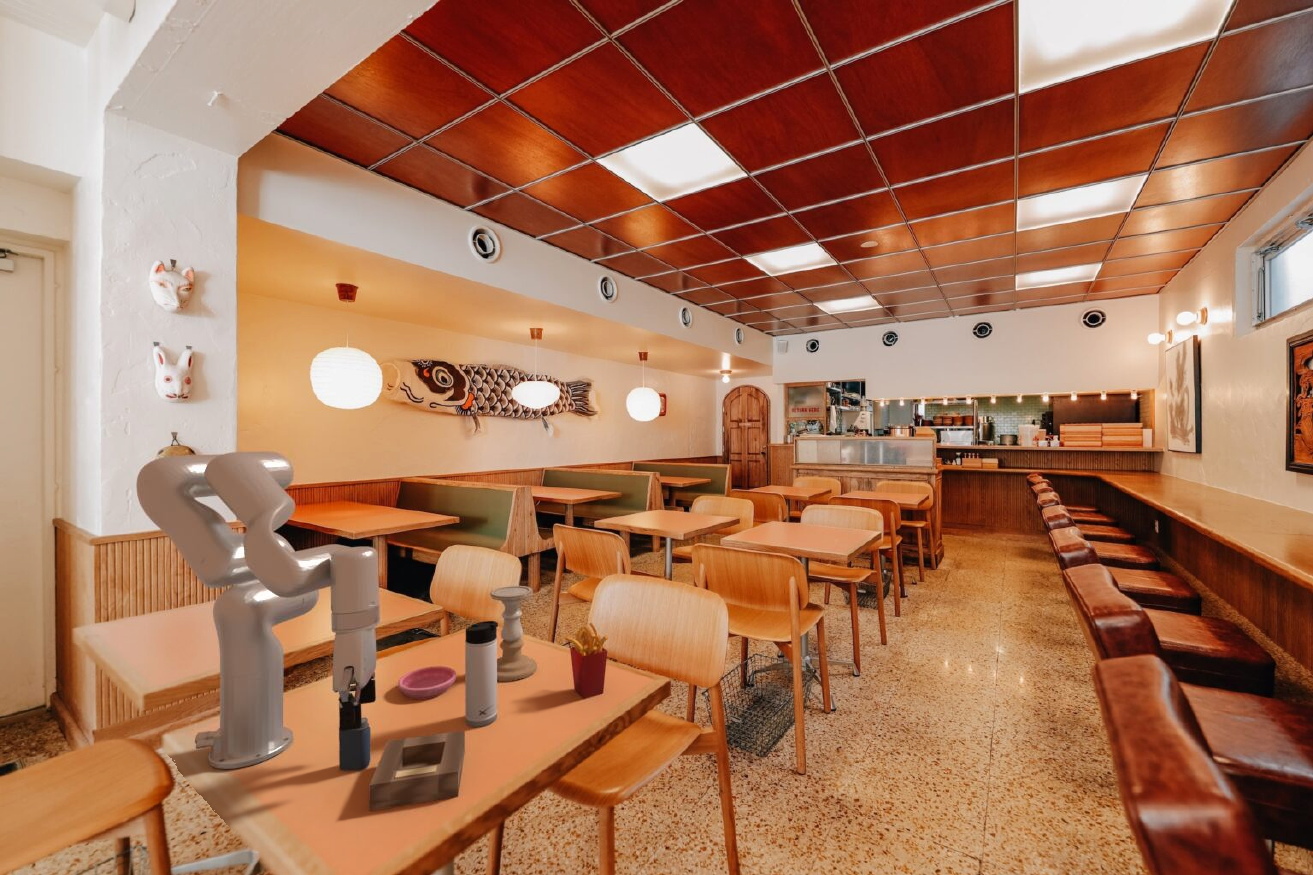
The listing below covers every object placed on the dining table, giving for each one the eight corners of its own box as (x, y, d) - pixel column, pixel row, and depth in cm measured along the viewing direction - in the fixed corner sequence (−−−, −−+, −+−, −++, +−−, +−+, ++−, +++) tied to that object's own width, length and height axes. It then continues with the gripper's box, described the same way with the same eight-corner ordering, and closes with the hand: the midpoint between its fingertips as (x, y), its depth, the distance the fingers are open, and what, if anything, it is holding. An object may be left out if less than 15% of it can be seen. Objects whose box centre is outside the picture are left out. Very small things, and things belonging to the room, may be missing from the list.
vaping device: (344, 762, 97) (344, 695, 97) (373, 762, 96) (373, 695, 97) (335, 770, 94) (335, 701, 94) (365, 771, 94) (364, 702, 94)
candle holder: (522, 657, 144) (521, 581, 144) (546, 671, 135) (545, 590, 135) (477, 670, 135) (477, 590, 136) (500, 686, 126) (500, 600, 127)
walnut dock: (369, 810, 84) (369, 783, 84) (387, 763, 96) (388, 739, 96) (458, 796, 87) (458, 770, 87) (464, 751, 100) (464, 729, 100)
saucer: (462, 693, 124) (462, 679, 124) (403, 708, 117) (403, 693, 117) (449, 674, 134) (449, 661, 134) (394, 687, 127) (394, 673, 127)
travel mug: (489, 728, 108) (488, 628, 108) (459, 725, 109) (459, 626, 109) (504, 713, 114) (503, 618, 114) (475, 710, 115) (475, 617, 115)
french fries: (609, 693, 123) (608, 627, 123) (576, 703, 118) (575, 635, 118) (590, 679, 130) (590, 617, 130) (559, 688, 125) (559, 624, 125)
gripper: (346, 607, 103) (349, 697, 103) (315, 636, 86) (317, 744, 86) (389, 602, 105) (392, 691, 104) (366, 630, 88) (369, 736, 88)
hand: (358, 715), depth 95 cm, fingers open, 9 cm apart
